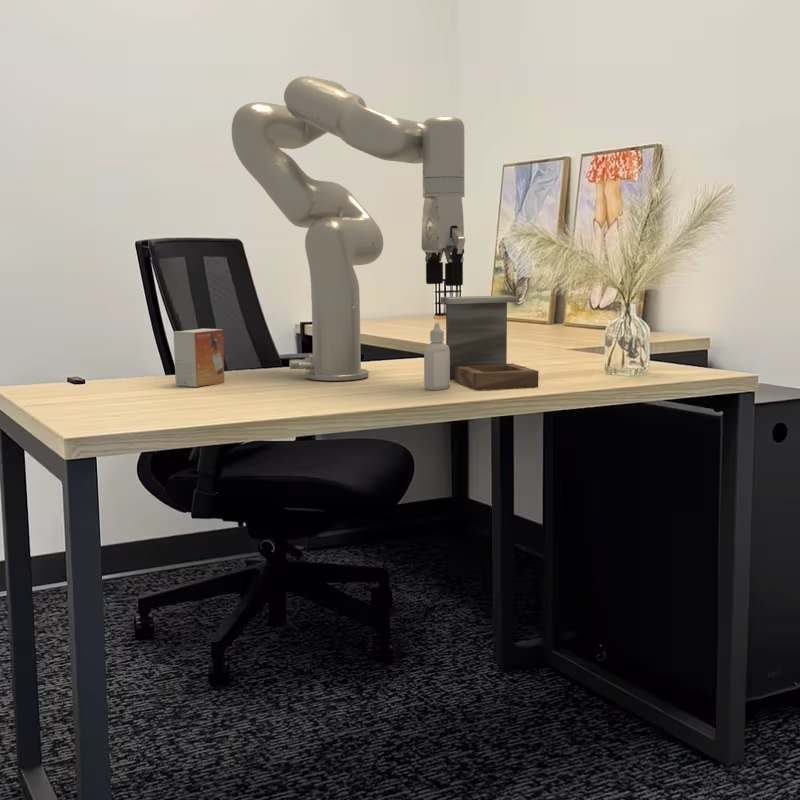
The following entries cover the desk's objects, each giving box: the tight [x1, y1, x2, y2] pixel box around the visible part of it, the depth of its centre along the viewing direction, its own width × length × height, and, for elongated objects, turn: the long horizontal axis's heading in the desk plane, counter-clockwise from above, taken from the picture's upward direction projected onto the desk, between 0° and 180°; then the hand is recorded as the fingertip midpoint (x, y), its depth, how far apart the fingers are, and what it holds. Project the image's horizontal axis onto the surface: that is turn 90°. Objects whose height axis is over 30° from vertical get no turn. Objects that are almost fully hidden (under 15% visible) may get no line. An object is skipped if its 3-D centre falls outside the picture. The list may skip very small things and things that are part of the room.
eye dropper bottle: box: [423, 322, 451, 391], centre depth 177 cm, size 4×6×12 cm
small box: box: [173, 327, 225, 388], centre depth 186 cm, size 8×6×10 cm
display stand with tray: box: [440, 294, 540, 391], centre depth 184 cm, size 18×14×16 cm
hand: (444, 284), depth 177 cm, fingers open, 9 cm apart
